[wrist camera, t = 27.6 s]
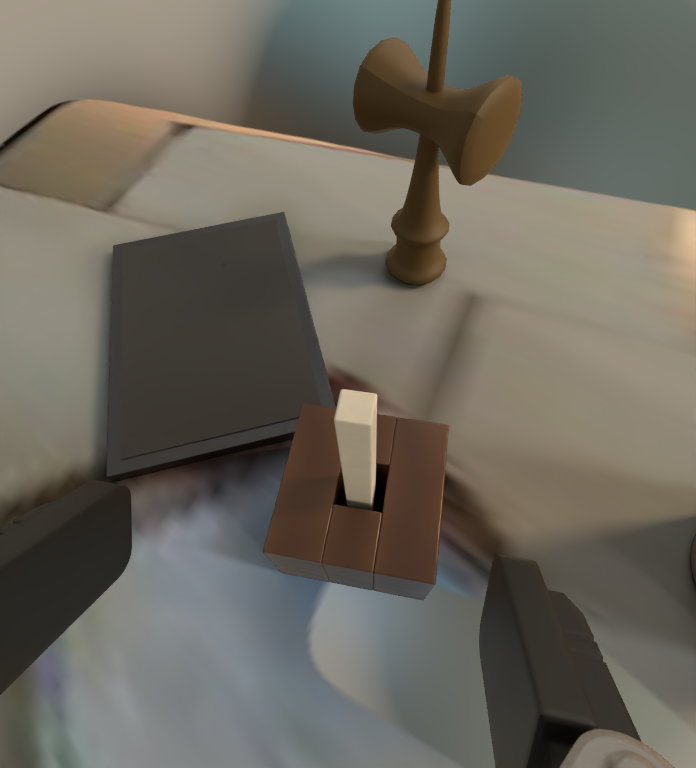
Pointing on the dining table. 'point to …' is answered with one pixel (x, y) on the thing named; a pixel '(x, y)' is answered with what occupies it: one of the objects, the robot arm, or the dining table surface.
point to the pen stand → (359, 526)
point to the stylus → (357, 446)
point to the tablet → (208, 346)
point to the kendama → (432, 137)
